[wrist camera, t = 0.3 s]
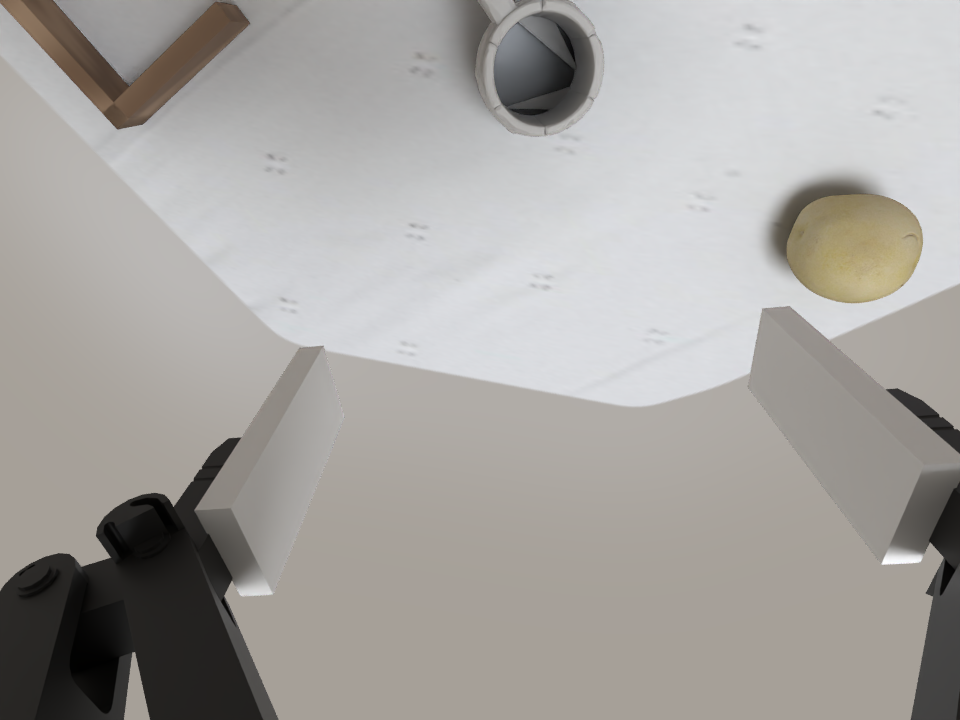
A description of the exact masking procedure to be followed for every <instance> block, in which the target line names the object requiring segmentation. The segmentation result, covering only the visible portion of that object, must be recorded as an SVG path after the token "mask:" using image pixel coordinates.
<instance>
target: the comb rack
mask: <svg viewBox="0 0 960 720" xmlns="http://www.w3.org/2000/svg"><path fill="white" fill-rule="evenodd" d="M0 3H1V4H2V5H3V6H4V7H5V9H6V10H7V11H8V12H9V13H10V14H11V15H12V16H13V17H14V18H15V19H16V20H17V21H18V23H19V24H20V25H21V26H22V27H23V28H24V29H25V30H26V31H27V32H28V33H29V34H30V36H31V37H32V38H33V39H34V40H35V41H36V42H37V43H38V44H39V45H40V46H41V47H42V49H43V50H44V51H45V52H46V53H47V54H48V55H49V56H50V57H51V58H52V59H53V60H54V61H55V63H56V64H57V65H58V66H59V67H60V68H61V69H62V70H63V71H64V72H65V73H66V74H67V76H68V77H69V78H70V79H71V80H72V81H73V82H74V83H75V84H76V85H77V86H78V87H79V88H80V90H81V91H82V92H83V93H84V94H85V95H86V96H87V97H88V98H89V99H90V100H91V101H92V103H93V104H94V105H95V106H96V107H97V108H98V109H99V110H100V111H101V112H102V113H103V114H104V116H105V117H106V118H107V119H108V120H109V121H110V122H111V123H112V124H113V125H114V126H115V127H116V128H117V129H122V128H127V127H132V126H137V125H142V124H144V123H145V122H146V121H147V120H148V119H149V118H150V117H151V116H152V115H153V114H154V113H156V112H157V111H158V110H159V109H160V108H161V107H162V106H163V105H164V104H165V103H166V102H167V101H168V100H169V99H170V98H171V97H173V96H174V95H175V94H176V93H177V92H178V91H179V90H180V89H181V88H182V87H183V86H184V85H185V84H186V83H187V82H188V81H190V80H191V79H192V78H193V77H194V76H195V75H196V74H197V73H198V72H199V71H200V70H201V69H202V68H203V67H204V66H205V65H207V64H208V63H209V62H210V61H211V60H212V59H213V58H214V57H215V56H216V55H217V54H218V53H219V52H220V51H221V50H223V49H224V48H225V47H226V46H227V45H228V44H229V43H230V42H231V41H232V40H233V39H234V38H235V37H236V36H237V35H238V34H240V33H241V32H242V31H243V30H244V29H245V28H246V27H247V26H248V25H249V24H250V23H249V22H248V20H247V19H246V18H245V16H244V15H243V14H242V12H241V11H240V10H239V8H238V7H237V6H236V5H231V4H225V3H220V2H215V3H214V4H213V5H212V6H211V7H210V8H209V9H208V10H207V11H206V12H205V13H204V14H203V15H202V16H201V17H200V18H199V19H198V20H197V21H196V22H195V23H194V24H193V25H192V26H191V27H190V28H188V29H187V30H186V31H185V32H184V33H183V34H182V35H181V36H180V37H179V38H178V39H177V40H176V41H175V42H174V43H173V44H172V45H171V46H170V47H169V48H168V49H167V50H166V51H165V52H164V53H163V54H162V55H161V56H160V57H159V58H158V59H157V60H156V61H155V62H154V63H153V64H152V65H151V66H150V67H149V68H148V69H147V70H146V71H145V72H144V73H143V74H142V75H141V76H140V77H139V78H138V79H137V80H136V81H135V82H134V83H133V84H132V85H131V86H130V87H129V86H128V85H127V84H126V83H125V82H124V81H123V79H122V78H121V77H120V76H119V75H118V74H117V73H116V72H115V70H114V69H113V68H112V67H111V66H110V65H109V64H108V62H107V61H106V60H105V59H104V58H103V57H102V56H101V55H100V53H99V52H98V51H97V50H96V49H95V48H94V47H93V46H92V44H91V43H90V42H89V41H88V40H87V39H86V38H85V36H84V35H83V34H82V33H81V32H80V31H79V30H78V29H77V27H76V26H75V25H74V24H73V23H72V22H71V21H70V19H69V18H68V17H67V16H66V15H65V14H64V13H63V12H62V10H61V9H60V8H59V7H58V6H57V5H56V4H55V2H54V1H53V0H0Z"/></svg>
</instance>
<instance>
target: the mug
mask: <svg viewBox="0 0 960 720" xmlns="http://www.w3.org/2000/svg"><path fill="white" fill-rule="evenodd" d="M477 1H478V3H479V4H480V5H481V7H482V8H483V10H484V11H485V13H486V14H487V16H488V17H489V19H490V20H491V23H490V25H489V26H488V28H487V29H486V31H485V33H484V35H483V37H482V39H481V42H480V45H479V48H478V52H477V57H476V66H475V77H476V79H477V84H478V88H479V92H480V94H481V97H482V99H483V101H484V103H485V105H486V106H487V108H488V109H489V111H490V112H491V113H492V114H493V116H494V117H495V118H496V119H497V120H498V121H499V122H500V123H501V124H502V125H503V126H505V127H506V129H507V130H508V131H510V132H511V133H515V134H521V135H526V136H534V137H539V136H548V135H553V134H557V133H560V132H562V131H563V130H565V129H568V128H569V127H571V126H572V125H573V124H575V123H576V122H578V121H579V120H580V119H581V118H582V117H583V116H584V115H585V113H586V112H587V111H588V110H589V109H590V107H591V106H592V104H593V101H594V100H593V99H595V98H596V97H597V95H598V92H599V90H600V87H601V83H602V78H603V72H604V55H603V49H602V44H601V42H600V40H599V38H598V36H597V35H596V32H595V27H594V25H593V24H592V23H591V21H590V20H589V19H588V18H587V16H586V15H585V14H583V13H582V12H581V11H580V9H579V8H578V7H576V5H575V4H574V3H573V2H571V1H569V0H521V1H519V2H516V3H514V1H513V0H477ZM517 22H519V23H520V24H521V25H522V26H523V27H525V28H526V29H527V30H528V31H529V32H531V33H532V34H533V35H534V36H535V37H536V38H538V39H539V40H540V41H541V42H542V43H544V44H545V45H546V46H547V47H548V48H549V49H551V50H552V51H553V52H554V53H555V54H557V55H558V56H559V57H560V58H561V59H562V60H564V61H565V62H566V63H567V64H568V65H570V66H571V67H572V68H573V69H574V70H575V73H574V78H573V81H572V83H571V86H570V87H568V88H564V89H561V90H558V91H555V92H552V93H548V94H545V95H542V96H539V97H535V98H532V99H529V100H526V101H523V102H519V103H516V104H513V105H510V106H505V105H504V104H503V103H502V102H501V101H500V99H499V96H498V94H497V91H496V87H495V81H494V62H495V56H496V52H497V49H498V46H499V45H500V43H501V41H502V39H503V38H504V36H505V35H506V33H507V32H508V31H509V30H510V29H511V28H512V27H513V26H514V25H515V24H516V23H517ZM556 24H557V25H558V26H560V27H561V28H562V29H563V30H564V32H565V33H566V35H567V36H568V38H570V42H571V44H572V47H573V50H574V54H575V62H574V60H573V58H572V56H571V54H570V52H569V50H568V48H567V46H566V43H565V41H564V39H563V37H562V35H561V33H560V31H559V29H558V27H557V25H556ZM592 98H593V99H592ZM510 109H551V110H549V111H547V112H545V113H542V114H537V115H534V116H533V115H522V114H518V113H516V112H514V111H512V110H510Z"/></svg>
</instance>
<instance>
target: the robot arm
mask: <svg viewBox="0 0 960 720" xmlns="http://www.w3.org/2000/svg"><path fill="white" fill-rule="evenodd" d="M748 388H749V390H750V391H751V392H752V393H753V395H754V396H755V397H756V399H757V400H758V401H759V403H760V404H761V405H762V407H763V408H764V409H765V411H766V412H767V413H768V415H769V416H770V417H771V419H772V420H773V421H774V423H775V424H776V425H777V427H778V428H779V429H780V431H781V432H782V433H783V434H784V436H785V437H786V439H787V440H788V441H789V443H790V444H791V445H792V447H793V448H794V449H795V451H796V452H797V453H798V455H799V456H800V457H801V459H802V460H803V461H804V463H805V464H806V465H807V467H808V468H809V469H810V470H811V472H812V473H813V475H814V476H815V477H816V478H817V480H818V481H819V482H820V484H821V485H822V487H823V488H824V489H825V491H826V492H827V493H828V494H829V496H830V497H831V498H832V500H833V501H834V502H835V504H836V505H837V506H838V508H839V509H840V510H841V512H842V513H843V514H844V516H845V517H846V518H847V519H848V521H849V522H850V524H851V525H852V526H853V528H854V529H855V530H856V532H857V533H858V534H859V536H860V537H861V538H862V539H863V541H864V542H865V544H866V545H867V546H868V547H869V549H870V550H871V551H872V553H873V554H874V555H875V557H876V558H877V560H878V561H879V562H880V564H902V563H920V562H921V560H922V557H923V556H924V554H925V551H926V549H927V547H928V545H929V543H930V542H931V543H932V544H933V546H934V547H935V548H936V549H937V550H938V551H939V552H940V554H941V555H942V556H943V557H944V559H943V561H942V563H941V565H940V567H939V569H938V571H937V573H936V575H935V576H934V578H933V580H932V582H931V584H930V586H929V588H928V590H927V592H926V594H928V595H931V596H933V601H932V606H931V612H930V617H929V623H928V629H927V634H926V640H925V645H924V651H923V656H922V661H921V667H920V672H919V678H918V683H917V689H916V694H915V700H914V705H913V711H912V716H911V720H960V431H959V430H957V429H954V428H953V426H952V425H951V424H950V423H949V422H948V421H946V420H945V419H944V418H943V417H942V418H940V417H939V414H938V413H937V412H935V411H934V410H933V409H932V408H930V407H929V406H928V405H927V404H926V403H924V402H923V401H922V400H920V399H918V398H916V397H914V396H912V395H910V394H908V393H906V392H903V391H902V390H899V389H884V388H883V387H882V386H881V385H880V384H879V383H877V382H876V381H875V380H874V379H873V378H872V377H871V376H869V375H868V374H867V373H866V372H865V371H864V370H862V369H861V368H860V367H859V366H858V365H857V364H855V363H854V362H853V361H852V360H851V359H850V358H849V357H847V356H846V355H845V354H844V353H843V352H842V351H841V350H839V349H838V348H837V347H836V346H835V345H834V344H832V343H831V342H830V341H829V340H828V339H827V338H826V337H824V336H823V335H822V334H821V333H820V332H819V331H817V330H816V329H815V328H814V327H813V326H812V325H811V324H809V323H808V322H807V321H806V320H805V319H804V318H803V317H801V316H800V315H799V314H798V313H797V312H796V311H794V310H793V309H792V308H791V307H790V306H787V307H775V308H764V309H762V313H761V318H760V324H759V329H758V334H757V340H756V345H755V350H754V356H753V361H752V367H751V372H750V378H749V383H748ZM344 418H345V416H344V413H343V410H342V406H341V403H340V400H339V396H338V393H337V390H336V387H335V383H334V379H333V376H332V373H331V369H330V366H329V363H328V359H327V356H326V353H325V349H324V346H316V347H304V348H299V349H298V351H297V353H296V354H295V356H294V357H293V359H292V360H291V362H290V363H289V365H288V367H287V368H286V370H285V371H284V373H283V374H282V376H281V378H280V379H279V380H278V382H277V383H276V385H275V387H274V388H273V390H272V391H271V393H270V394H269V396H268V398H267V399H266V400H265V402H264V404H263V405H262V407H261V408H260V410H259V411H258V413H257V415H256V416H255V417H254V419H253V421H252V422H251V424H250V425H249V427H248V428H247V430H246V431H245V433H244V434H243V436H242V437H241V438H229V439H227V440H226V441H225V442H224V443H223V444H221V445H220V446H219V447H218V448H216V449H215V450H214V451H213V452H212V453H211V454H210V456H209V457H208V459H207V460H206V462H205V463H204V465H203V466H202V470H199V472H198V473H197V475H196V476H195V477H194V481H193V482H191V483H190V485H189V486H188V487H187V489H186V490H185V492H184V493H183V495H182V496H181V497H180V499H179V500H178V502H177V503H176V505H175V506H174V507H173V505H172V504H171V502H170V500H169V499H168V498H167V497H166V496H165V495H163V494H158V493H151V494H144V495H141V496H138V497H135V498H133V499H130V500H128V501H126V502H125V503H122V504H121V505H119V506H117V507H116V508H114V509H113V510H112V511H111V512H110V513H109V514H108V515H106V516H105V517H104V519H103V520H102V521H101V523H100V524H99V526H98V527H97V533H96V537H97V538H98V539H99V541H100V542H101V543H102V545H103V547H104V548H105V549H106V551H107V552H108V554H109V555H110V557H111V558H109V559H106V560H102V561H99V562H96V563H92V564H89V565H86V566H83V567H81V566H80V565H79V563H78V562H77V561H76V559H75V558H74V557H72V556H71V555H70V554H60V553H58V554H54V555H50V556H46V557H44V558H42V559H39V560H37V561H35V562H33V563H31V564H29V565H28V566H26V567H25V568H23V569H22V570H20V571H19V572H17V573H16V574H15V575H14V576H13V577H12V578H11V579H10V580H9V581H8V582H7V583H6V584H5V585H4V586H3V588H2V589H1V591H0V720H124V713H125V705H126V697H127V689H128V682H129V674H130V666H131V658H132V652H135V653H136V658H137V662H138V667H139V671H140V676H141V681H142V685H143V690H144V694H145V699H146V703H147V707H148V712H149V717H150V720H278V718H277V715H276V713H275V710H274V708H273V706H272V704H271V701H270V699H269V697H268V694H267V692H266V690H265V687H264V685H263V683H262V680H261V678H260V676H259V673H258V671H257V669H256V667H255V664H254V662H253V659H252V657H251V655H250V653H249V650H248V648H247V646H246V643H245V641H244V639H243V636H242V634H241V632H240V629H239V627H238V625H237V622H236V620H235V618H234V615H233V613H232V611H231V609H230V606H229V604H228V602H227V601H226V599H225V597H224V595H225V593H226V591H227V589H228V587H229V585H230V583H231V581H233V583H234V585H235V586H236V588H237V590H238V592H239V594H240V596H256V595H273V594H274V592H275V589H276V587H277V584H278V581H279V579H280V577H281V574H282V572H283V569H284V567H285V564H286V561H287V559H288V557H289V554H290V552H291V549H292V547H293V544H294V542H295V539H296V537H297V534H298V532H299V529H300V527H301V524H302V522H303V519H304V517H305V515H306V512H307V509H308V507H309V505H310V502H311V500H312V497H313V495H314V492H315V490H316V487H317V485H318V482H319V480H320V477H321V475H322V472H323V470H324V467H325V464H326V462H327V460H328V457H329V455H330V452H331V450H332V448H333V445H334V443H335V440H336V438H337V435H338V433H339V430H340V428H341V425H342V423H343V420H344Z"/></svg>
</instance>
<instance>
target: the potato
mask: <svg viewBox="0 0 960 720" xmlns="http://www.w3.org/2000/svg"><path fill="white" fill-rule="evenodd" d="M922 245H923V235H922V229H921V227H920V224H919V222H918V220H917V218H916V216H915V215H914V214H913V213H912V212H911V211H910V210H909V209H908V208H907V207H905V206H904V205H902V204H901V203H899V202H897V201H895V200H893V199H890V198H888V197H884V196H880V195H873V194H849V195H838V196H827V197H823V198H820V199H817V200H815V201H813V202H811V203H810V204H809V205H807V206H806V207H805V208H804V209H803V210H802V211H801V212H800V214H799V216H798V218H797V220H796V222H795V224H794V226H793V228H792V231H791V233H790V235H789V238H788V241H787V260H788V262H789V265H790V268H791V270H792V271H793V273H794V275H795V276H796V278H797V279H798V280H799V281H800V282H801V283H802V284H803V285H804V286H805V287H806V288H808V289H809V290H811V291H812V292H814V293H815V294H817V295H820V296H822V297H824V298H827V299H830V300H834V301H838V302H844V303H863V302H869V301H873V300H877V299H880V298H883V297H885V296H888V295H890V294H892V293H894V292H895V291H897V290H898V289H899V288H901V287H902V286H903V285H904V284H905V283H906V282H907V281H908V280H909V278H910V277H911V275H912V274H913V272H914V270H915V267H916V265H917V263H918V261H919V258H920V255H921V251H922Z"/></svg>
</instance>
